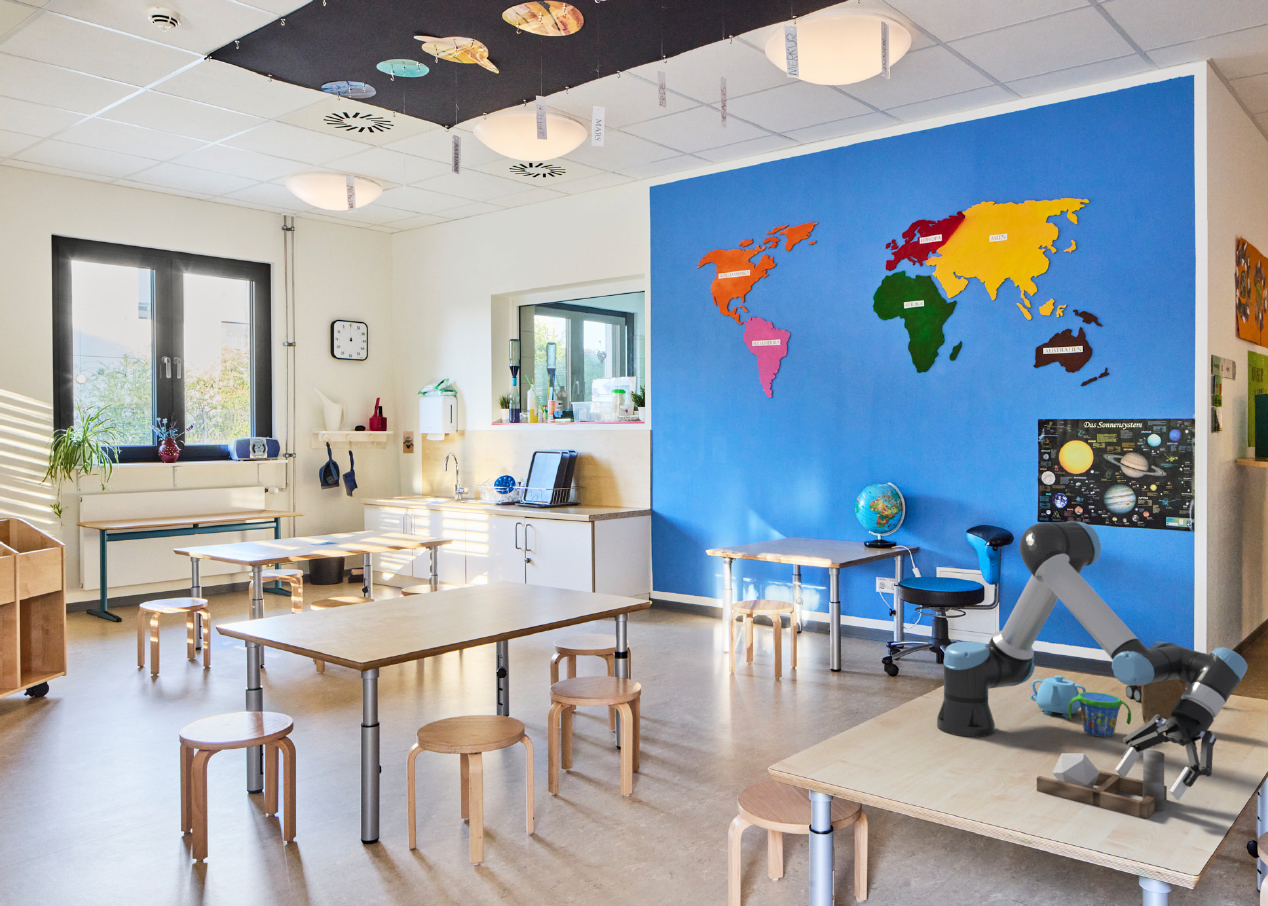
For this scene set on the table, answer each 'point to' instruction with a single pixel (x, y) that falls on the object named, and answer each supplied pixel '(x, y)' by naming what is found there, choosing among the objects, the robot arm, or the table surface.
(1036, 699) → the teapot
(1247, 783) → the table surface
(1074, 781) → the die
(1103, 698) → the snack cup
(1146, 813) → the frame
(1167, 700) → the block
